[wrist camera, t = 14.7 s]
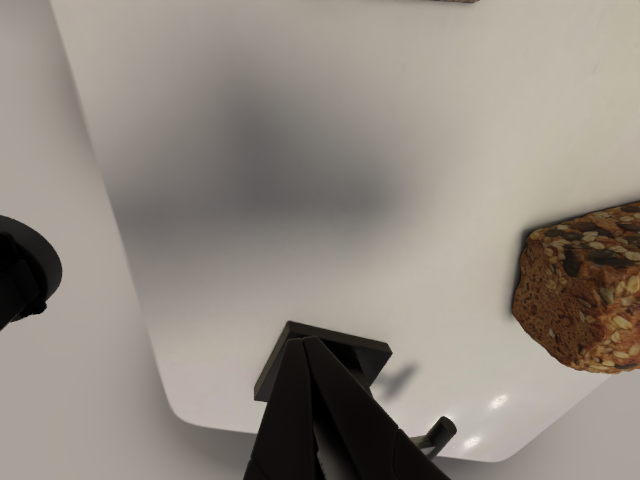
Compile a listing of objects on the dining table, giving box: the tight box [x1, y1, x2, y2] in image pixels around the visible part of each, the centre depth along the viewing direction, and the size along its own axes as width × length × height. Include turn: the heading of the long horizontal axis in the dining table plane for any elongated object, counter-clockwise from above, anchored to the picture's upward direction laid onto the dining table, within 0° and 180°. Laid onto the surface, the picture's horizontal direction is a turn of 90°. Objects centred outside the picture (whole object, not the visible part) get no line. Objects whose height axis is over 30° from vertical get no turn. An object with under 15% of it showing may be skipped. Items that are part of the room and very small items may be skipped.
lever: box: [317, 416, 457, 480], centre depth 23 cm, size 11×5×2 cm, turn 64°
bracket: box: [254, 322, 393, 480], centre depth 24 cm, size 10×8×10 cm
